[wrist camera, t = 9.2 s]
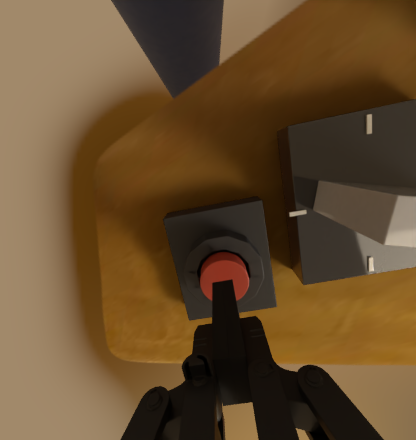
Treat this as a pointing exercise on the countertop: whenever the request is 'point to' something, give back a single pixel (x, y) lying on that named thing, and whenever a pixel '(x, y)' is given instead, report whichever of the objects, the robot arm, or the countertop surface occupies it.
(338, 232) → the dark gray dial base
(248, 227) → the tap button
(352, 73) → the countertop surface
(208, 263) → the button
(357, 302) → the countertop surface
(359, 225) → the upright gray tile
